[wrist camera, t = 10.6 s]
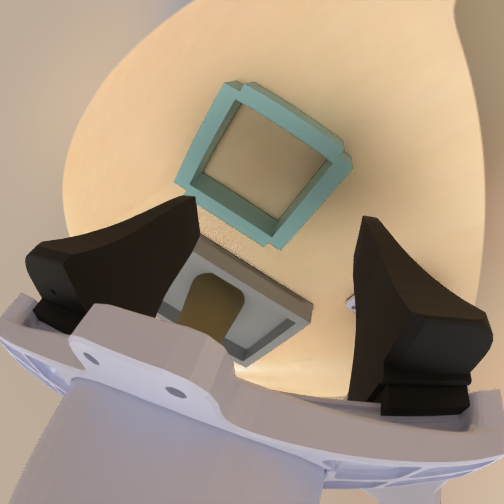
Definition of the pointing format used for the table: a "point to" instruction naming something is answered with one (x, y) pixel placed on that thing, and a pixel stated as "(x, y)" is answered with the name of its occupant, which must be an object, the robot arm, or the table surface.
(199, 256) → the charcoal tray
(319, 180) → the teal collar
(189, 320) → the cork
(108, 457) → the robot arm
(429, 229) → the table surface
